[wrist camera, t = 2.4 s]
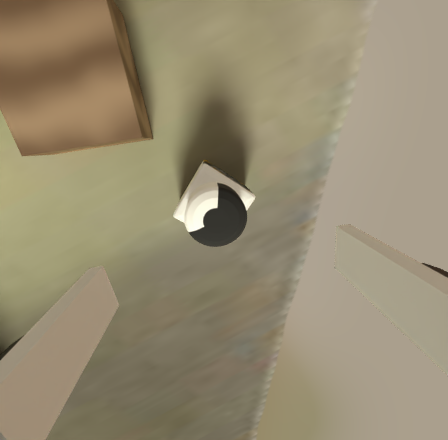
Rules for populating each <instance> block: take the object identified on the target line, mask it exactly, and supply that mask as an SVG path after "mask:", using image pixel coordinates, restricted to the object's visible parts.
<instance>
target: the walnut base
mask: <svg viewBox="0 0 448 440" xmlns="http://www.w3.org/2000/svg"><path fill="white" fill-rule="evenodd" d="M0 110H1V112H2V114H3V116H4V118H5V120H6V123H7V125H8V127H9V129H10V131H11V133H12V136H13V138H14V140H15V142H16V144H17V146H18V149H19V151H20V153H21V155H22V156H35V155H54V154H60V153H67V152H73V151H79V150H86V149H92V148H99V147H105V146H111V145H118V144H124V143H131V142H137V141H143V140H150V139H153V136H152V132H151V128H150V124H149V120H148V116H147V112H146V108H145V104H144V100H143V96H142V92H141V88H140V84H139V80H138V76H137V72H136V68H135V64H134V59H133V55H132V51H131V47H130V43H129V39H128V35H127V31H126V27H125V23H124V19H123V15H122V13H121V11H120V10H119V8H118V7H117V5H116V4H115V2H114V0H0Z"/></svg>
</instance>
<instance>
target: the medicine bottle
mask: <svg viewBox="0 0 448 440" xmlns="http://www.w3.org/2000/svg"><path fill="white" fill-rule="evenodd" d="M254 199H255V195H254V194H253V193H252V192H251V191H250V190H249V189H248V188H247V187H246V186H245V185H244V184H242V183H241V182H239V181H238V180H236V179H235V178H233V177H231V176H230V175H228V174H227V173H225V172H224V171H222V170H221V169H219V168H218V167H216V166H214V165H213V164H211V163H210V162H208V161H207V160H203V161H202V163H201V165H200V166H199V168H198V170H197V172H196V173H195V175H194V177H193V178H192V180H191V182H190V184H189V185H188V187H187V189H186V190H185V192H184V194H183V196H182V197H181V199H180V201H179V203H178V205H177V207H176V209H175V211H174V213H173V216H174V217H175V218H176V219H178V220H180V221H182V222H184V223H185V225H186V228H187V230H188V232H189V234H190V235H191V236H192V237H193V238H194V239H195V240H196V241H198V242H199V243H201V244H204V245H207V246H212V247H218V246H224V245H227V244H229V243H231V242H233V241H234V240H236V239H237V238H238V237H239V236H240V235H241V233H242V232H243V230H244V228H245V226H246V222H247V209H248V208H249V206H250V205H251V203H252V202H253V200H254Z"/></svg>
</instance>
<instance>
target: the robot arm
mask: <svg viewBox="0 0 448 440" xmlns="http://www.w3.org/2000/svg"><path fill="white" fill-rule="evenodd" d="M335 269H336V270H337V271H338V272H340V273H341V275H342V276H344V277H345V278H346V279H347V280H348V281H349V282H350V283H351V284H352V285H353V286H354V287H355V288H356V289H357V290H358V291H359V292H360V293H361V294H362V295H363V296H364V297H365V298H367V299H368V300H369V301H370V302H371V303H372V304H373V305H374V306H375V307H376V308H377V309H378V310H379V311H380V312H381V313H382V314H383V315H385V317H386V318H387V319H389V320H390V321H391V322H392V323H393V324H394V325H395V326H396V327H397V328H398V329H399V330H400V331H401V332H402V333H403V334H404V335H405V336H406V337H407V338H408V339H409V340H411V341H412V342H413V343H414V344H415V345H416V346H417V347H418V348H419V349H420V350H421V351H422V352H423V353H424V354H425V355H426V356H427V357H428V358H429V359H430V360H431V361H433V362H434V363H435V364H436V365H437V366H438V367H439V368H440V369H441V370H442V371H443V372H444V373H445V374H446V375H447V376H448V272H446V271H444V270H442V269H440V268H437V267H434V266H431V265H428V264H425V263H419V262H418V261H416V260H414V259H412V258H411V257H409V256H407V255H405V254H403V253H401V252H400V251H398V250H396V249H394V248H392V247H390V246H389V245H387V244H385V243H383V242H381V241H379V240H377V239H375V238H374V237H372V236H370V235H369V234H367V233H365V232H363V231H361V230H359V229H358V228H356V227H354V226H352V225H350V224H347V225H340V226H336V241H335ZM118 307H119V304H118V301H117V299H116V296H115V294H114V291H113V289H112V286H111V284H110V281H109V279H108V277H107V274H106V272H105V269H104V267H103V266H99V267H93V268H89V269H88V270H87V271H86V272H85V273H84V274H83V275H82V276H81V277H80V278H79V279H78V280H77V281H76V282H75V283H74V284H73V286H72V287H71V288H70V289H69V290H68V291H67V292H66V293H65V294H64V295H63V296H62V297H61V298H60V299H59V300H58V301H57V302H56V303H55V304H54V305H53V306H52V307H51V308H50V309H49V310H48V312H47V313H46V314H45V315H44V316H43V317H42V318H41V319H40V320H39V321H38V322H37V323H36V324H35V325H34V326H33V327H32V328H31V329H30V330H29V331H28V332H27V333H26V334H25V335H24V336H22V337H21V338H20V339H18V340H17V341H16V342H14V343H13V344H12V345H10V346H9V347H8V348H7V349H6V350H5V351H4V352H3V353H2V354H1V355H0V440H45V439H46V438H47V436H48V434H49V432H50V430H51V429H52V427H53V425H54V423H55V421H56V419H57V418H58V416H59V414H60V412H61V410H62V409H63V407H64V405H65V403H66V401H67V399H68V398H69V396H70V394H71V392H72V390H73V388H74V387H75V385H76V383H77V381H78V379H79V378H80V376H81V374H82V372H83V370H84V368H85V367H86V365H87V363H88V361H89V359H90V358H91V356H92V354H93V352H94V350H95V348H96V347H97V345H98V343H99V341H100V339H101V338H102V336H103V334H104V332H105V330H106V328H107V327H108V325H109V323H110V321H111V319H112V318H113V316H114V314H115V312H116V310H117V308H118Z"/></svg>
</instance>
